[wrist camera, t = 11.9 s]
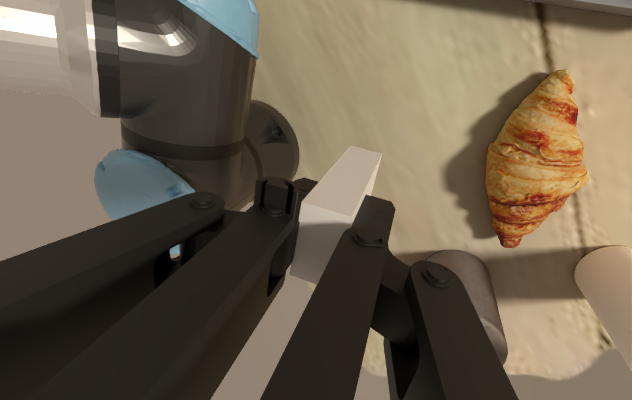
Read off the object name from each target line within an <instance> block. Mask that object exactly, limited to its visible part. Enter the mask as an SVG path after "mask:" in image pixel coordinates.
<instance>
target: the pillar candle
mask: <svg viewBox="0 0 632 400" xmlns="http://www.w3.org/2000/svg"><path fill="white" fill-rule="evenodd" d="M426 261H431V262H435V263H439V264H441V265H443V266H445V267H447V268H449V269H450V270H451V271H453V272H454V273H455V274H456V275H457V276H458V277H459V278H460V280H461V281H462V283H463V285H464V287H465V289H466V291H467V293H468V295H469V297H470V299H471V301H472V303H473V306H474V308H475V310H476V312H477V314H478V316H479V318H480V320H481V322H482V324H483V326H484V329H485V331H486V333H487V335H488V337H489V339H490V341H491V343H492V345H493V347H494V349H495V351H496V354H497V356H498V358H499V360H500V362H501V364H502V366H503V364H504V363H505V361H506V358H507V355H508V349H507V343H506V339H505V335H504V331H503V327H502V323H501V319H500V315H499V311H498V307H497V302H496V298H495V294H494V290H493V286H492V283H491V278H490V275H489V272H488V269H487V268H486V266H485V265H484V263H483V262H482V261H481V260H480V259H479V258H477V257H476V256H474V255H472V254H470V253H467V252H464V251H459V250H446V251H441V252H438V253H436V254H434V255H432V256H430V257H429V258H428V259H427V260H426Z"/></svg>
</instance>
